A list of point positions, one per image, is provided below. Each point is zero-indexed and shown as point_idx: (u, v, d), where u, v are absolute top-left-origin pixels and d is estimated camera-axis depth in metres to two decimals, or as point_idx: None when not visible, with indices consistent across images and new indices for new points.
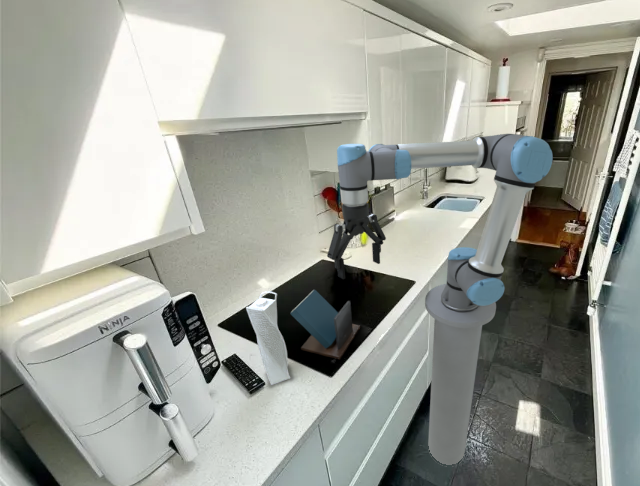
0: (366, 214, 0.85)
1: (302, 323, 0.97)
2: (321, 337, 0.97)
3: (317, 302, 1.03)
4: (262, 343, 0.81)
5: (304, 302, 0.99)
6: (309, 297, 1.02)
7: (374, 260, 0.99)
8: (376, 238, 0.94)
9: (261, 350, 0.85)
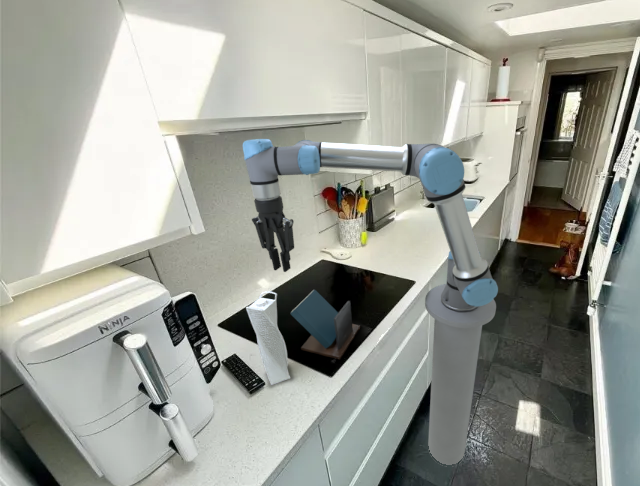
0: (264, 210, 0.86)
1: (302, 323, 0.97)
2: (321, 337, 0.97)
3: (317, 302, 1.03)
4: (262, 343, 0.81)
5: (304, 302, 0.99)
6: (309, 297, 1.02)
7: None
8: (281, 244, 0.92)
9: (261, 350, 0.85)
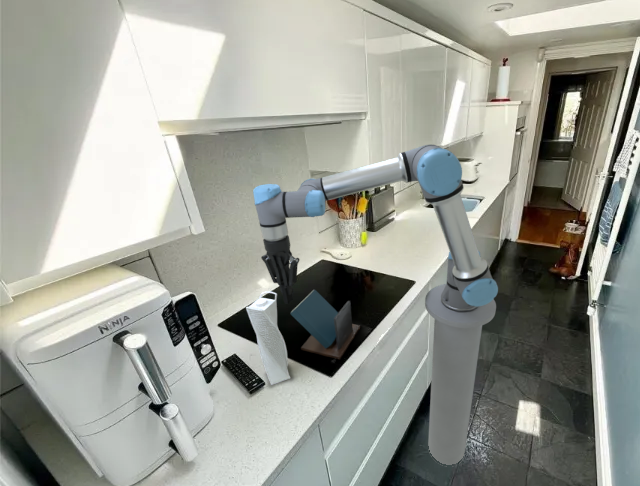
0: (272, 250, 0.91)
1: (302, 323, 0.97)
2: (321, 337, 0.97)
3: (317, 302, 1.03)
4: (262, 343, 0.81)
5: (304, 302, 0.99)
6: (309, 297, 1.02)
7: None
8: (284, 279, 0.98)
9: (261, 350, 0.85)
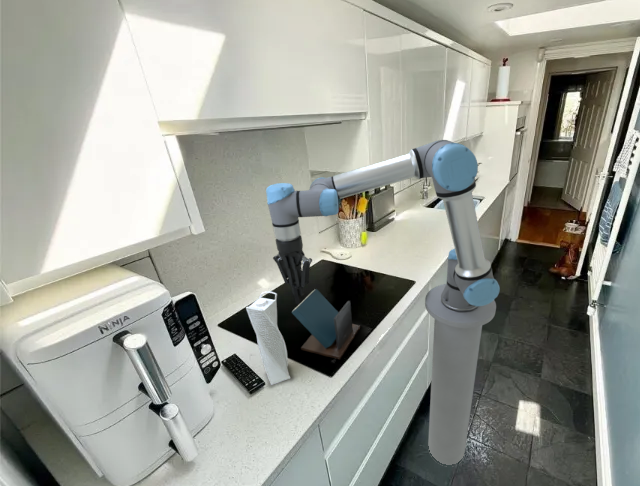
0: (285, 250, 0.90)
1: (303, 322, 0.97)
2: (322, 337, 0.97)
3: (318, 302, 1.03)
4: (262, 343, 0.81)
5: (306, 301, 0.99)
6: (311, 296, 1.02)
7: None
8: (297, 280, 0.97)
9: (261, 350, 0.85)
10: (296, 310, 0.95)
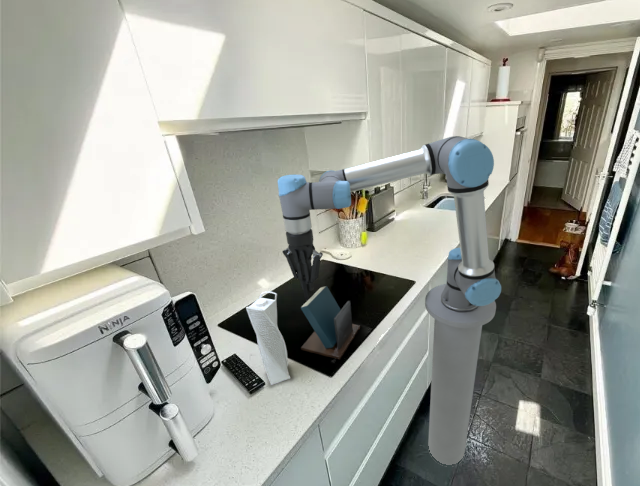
0: (296, 244, 0.87)
1: (310, 320, 0.95)
2: (325, 338, 0.96)
3: (327, 301, 1.01)
4: (262, 343, 0.81)
5: (316, 299, 0.97)
6: (321, 294, 1.00)
7: None
8: (306, 274, 0.94)
9: (261, 350, 0.85)
10: (306, 307, 0.93)
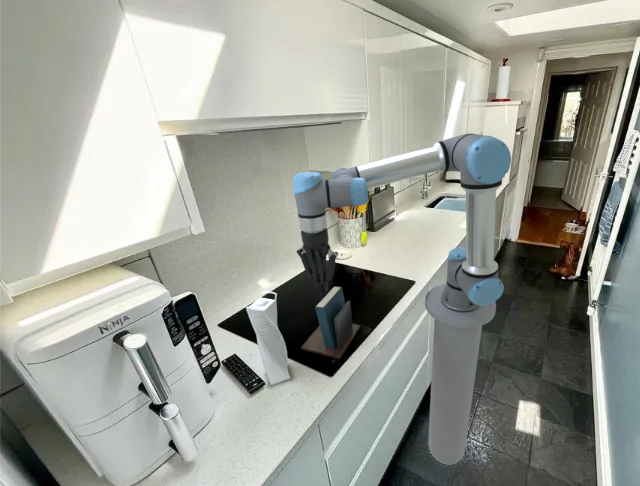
0: (311, 243, 0.85)
1: (320, 320, 0.94)
2: (330, 340, 0.96)
3: (339, 303, 1.00)
4: (262, 343, 0.81)
5: (331, 301, 0.95)
6: (336, 295, 0.98)
7: None
8: (321, 274, 0.92)
9: (261, 350, 0.85)
10: (322, 309, 0.91)
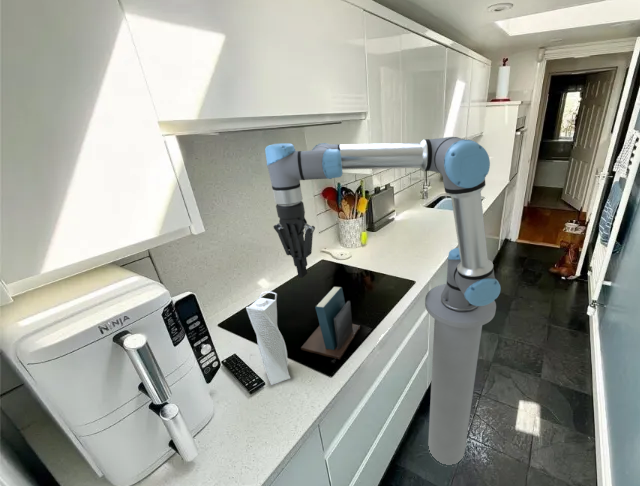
0: (286, 216, 0.84)
1: (320, 320, 0.94)
2: (330, 340, 0.96)
3: (339, 303, 1.00)
4: (262, 343, 0.81)
5: (331, 301, 0.95)
6: (336, 295, 0.98)
7: None
8: (299, 250, 0.91)
9: (261, 350, 0.85)
10: (322, 309, 0.91)
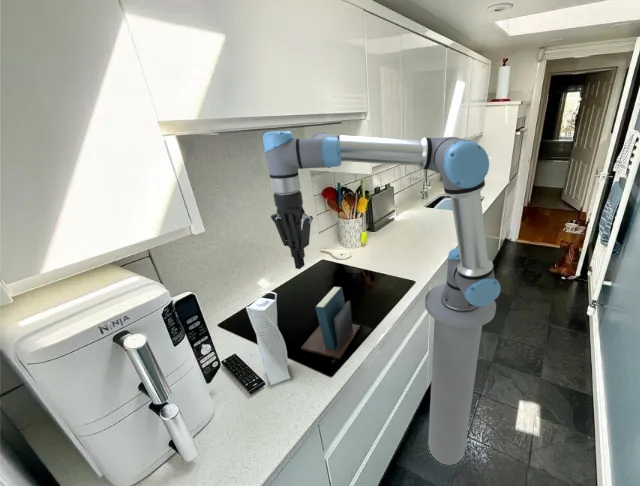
0: (284, 205, 0.83)
1: (320, 320, 0.94)
2: (330, 340, 0.96)
3: (339, 303, 1.00)
4: (262, 343, 0.81)
5: (331, 301, 0.95)
6: (336, 295, 0.98)
7: None
8: (296, 240, 0.90)
9: (261, 350, 0.85)
10: (322, 309, 0.91)
